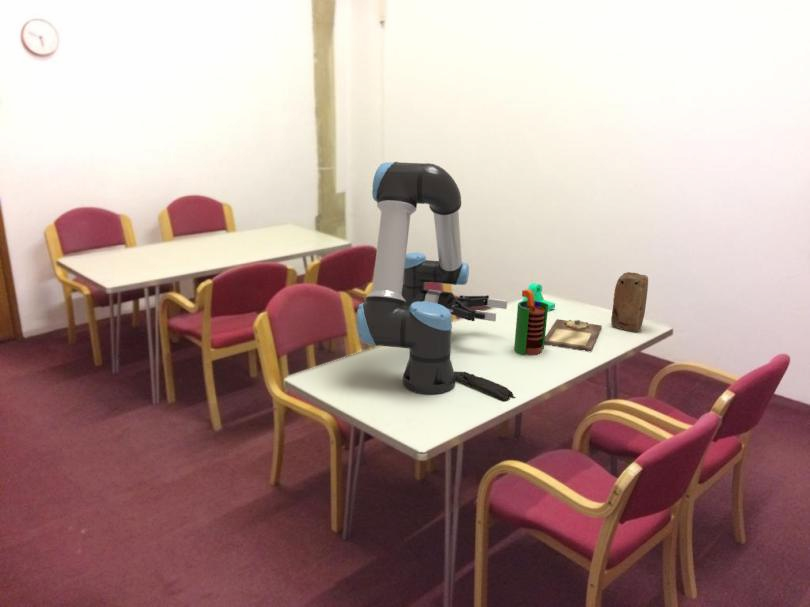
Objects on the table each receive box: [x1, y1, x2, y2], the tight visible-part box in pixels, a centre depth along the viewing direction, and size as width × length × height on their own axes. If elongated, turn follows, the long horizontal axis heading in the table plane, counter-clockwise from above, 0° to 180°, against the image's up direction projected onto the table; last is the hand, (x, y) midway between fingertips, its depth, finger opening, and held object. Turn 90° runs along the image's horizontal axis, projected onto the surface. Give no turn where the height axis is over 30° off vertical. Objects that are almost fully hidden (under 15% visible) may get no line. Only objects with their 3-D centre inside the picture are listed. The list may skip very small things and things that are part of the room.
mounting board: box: [544, 318, 603, 352], centre depth 233 cm, size 16×25×3 cm, turn 157°
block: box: [610, 271, 649, 332], centre depth 240 cm, size 11×8×20 cm
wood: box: [454, 370, 517, 402], centre depth 193 cm, size 22×7×3 cm, turn 43°
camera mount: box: [522, 282, 556, 313], centre depth 260 cm, size 12×8×10 cm, turn 129°
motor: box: [513, 289, 549, 356], centre depth 217 cm, size 10×9×20 cm
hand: (501, 310), depth 220 cm, fingers open, 13 cm apart
